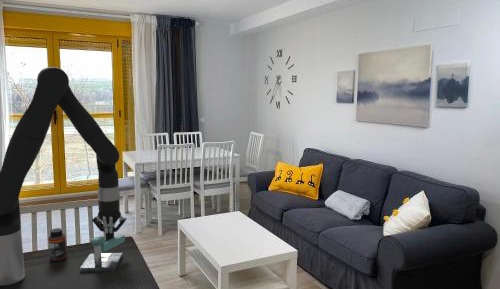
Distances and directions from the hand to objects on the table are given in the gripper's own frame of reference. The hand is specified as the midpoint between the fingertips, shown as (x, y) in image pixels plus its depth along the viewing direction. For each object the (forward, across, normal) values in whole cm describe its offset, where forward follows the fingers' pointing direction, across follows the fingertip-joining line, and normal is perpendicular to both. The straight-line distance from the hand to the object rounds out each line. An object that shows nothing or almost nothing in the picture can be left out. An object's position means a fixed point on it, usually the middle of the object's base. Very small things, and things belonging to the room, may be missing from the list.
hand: (110, 241), depth 152 cm
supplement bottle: (+7, -20, -1) cm, 21 cm away
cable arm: (+1, +1, -5) cm, 5 cm away
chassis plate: (+7, -1, -5) cm, 9 cm away
